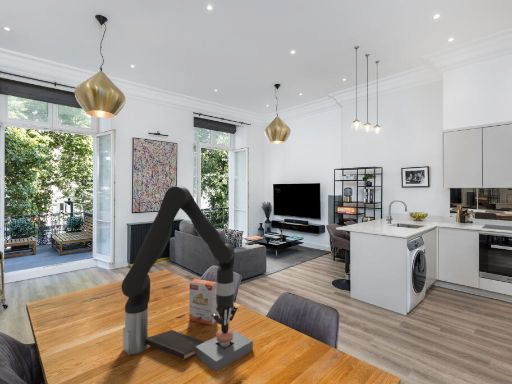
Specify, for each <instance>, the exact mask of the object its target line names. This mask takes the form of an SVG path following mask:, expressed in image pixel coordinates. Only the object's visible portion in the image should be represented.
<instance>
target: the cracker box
mask: <svg viewBox="0 0 512 384" xmlns="http://www.w3.org/2000/svg"><path fill="white" fill-rule="evenodd" d="M216 285H217V281H212V280H205V279H198V278H194V279H193V280H190V281H189V302H188V303H189V304H188V305H189V307H188V308H189V310H188V312H189V315H188V317H189V318H188V319H189V321H191V322H197V323H200V324H204V325H208V326H213V325H214V324H215V323H217V322H216V321H215V319H214V318H213V317H212V314H215V312H216V308H217V303H216Z"/></svg>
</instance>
